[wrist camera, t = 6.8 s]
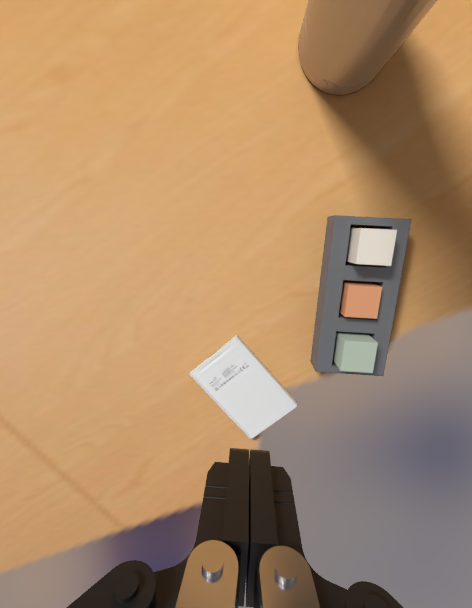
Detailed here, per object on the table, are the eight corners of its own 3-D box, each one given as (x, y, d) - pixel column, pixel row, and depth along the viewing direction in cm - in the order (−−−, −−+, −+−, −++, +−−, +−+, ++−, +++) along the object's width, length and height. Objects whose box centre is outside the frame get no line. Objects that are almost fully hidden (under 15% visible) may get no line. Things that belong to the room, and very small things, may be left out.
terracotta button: (339, 280, 36) (348, 284, 33) (370, 281, 36) (382, 286, 33) (335, 309, 37) (344, 316, 34) (365, 311, 37) (376, 318, 34)
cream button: (349, 228, 34) (360, 228, 30) (382, 230, 34) (397, 229, 30) (345, 260, 34) (355, 263, 31) (377, 262, 34) (391, 265, 31)
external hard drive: (250, 432, 43) (191, 370, 41) (296, 399, 41) (237, 333, 39) (250, 440, 41) (188, 375, 39) (298, 406, 40) (236, 337, 38)
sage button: (336, 330, 36) (344, 340, 33) (366, 332, 36) (377, 342, 33) (332, 358, 37) (340, 370, 34) (361, 360, 37) (372, 372, 34)
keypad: (327, 216, 35) (334, 215, 32) (397, 220, 35) (411, 219, 32) (310, 361, 39) (315, 371, 36) (373, 365, 39) (383, 376, 36)
